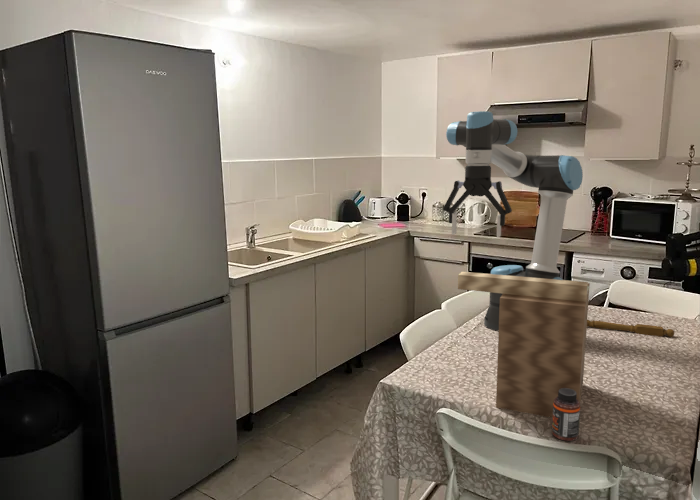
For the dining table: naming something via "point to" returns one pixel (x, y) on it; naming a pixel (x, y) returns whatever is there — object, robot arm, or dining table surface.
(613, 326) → the wooden spindle
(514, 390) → the brown wavy patterned box
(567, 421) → the supplement bottle
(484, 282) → the beech bar
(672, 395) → the dining table surface
